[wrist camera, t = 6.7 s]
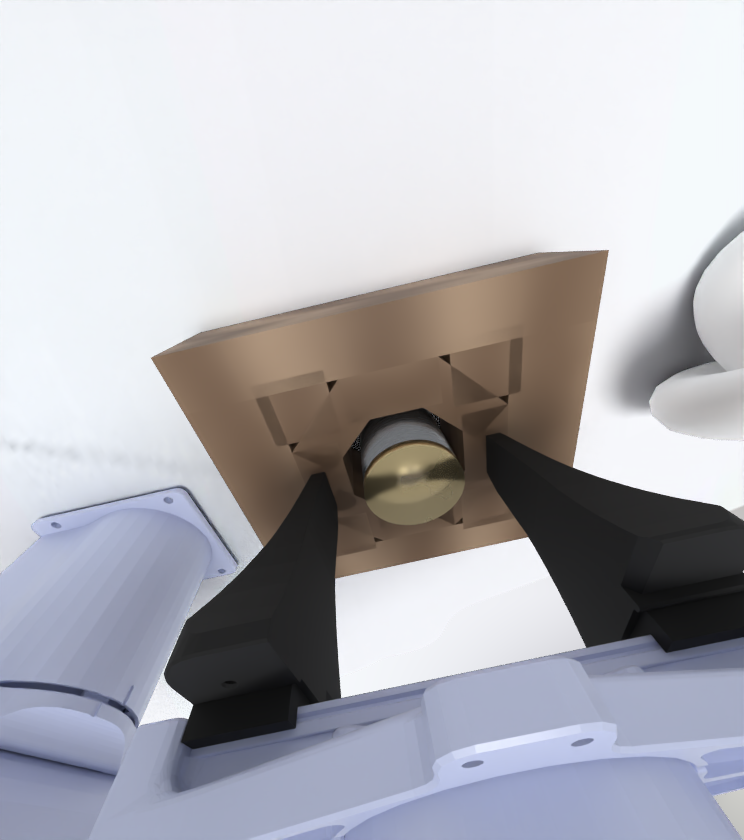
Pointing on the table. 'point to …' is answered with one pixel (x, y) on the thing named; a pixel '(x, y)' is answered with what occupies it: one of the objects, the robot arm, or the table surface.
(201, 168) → the table surface
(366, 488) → the brass capped cylinder
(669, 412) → the white knot sculpture
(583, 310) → the jig
